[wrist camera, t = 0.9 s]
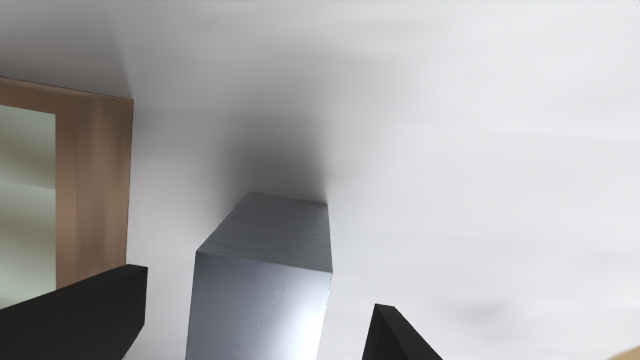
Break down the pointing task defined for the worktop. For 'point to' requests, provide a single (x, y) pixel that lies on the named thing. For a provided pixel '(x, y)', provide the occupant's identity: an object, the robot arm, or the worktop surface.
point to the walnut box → (60, 186)
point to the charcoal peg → (262, 282)
